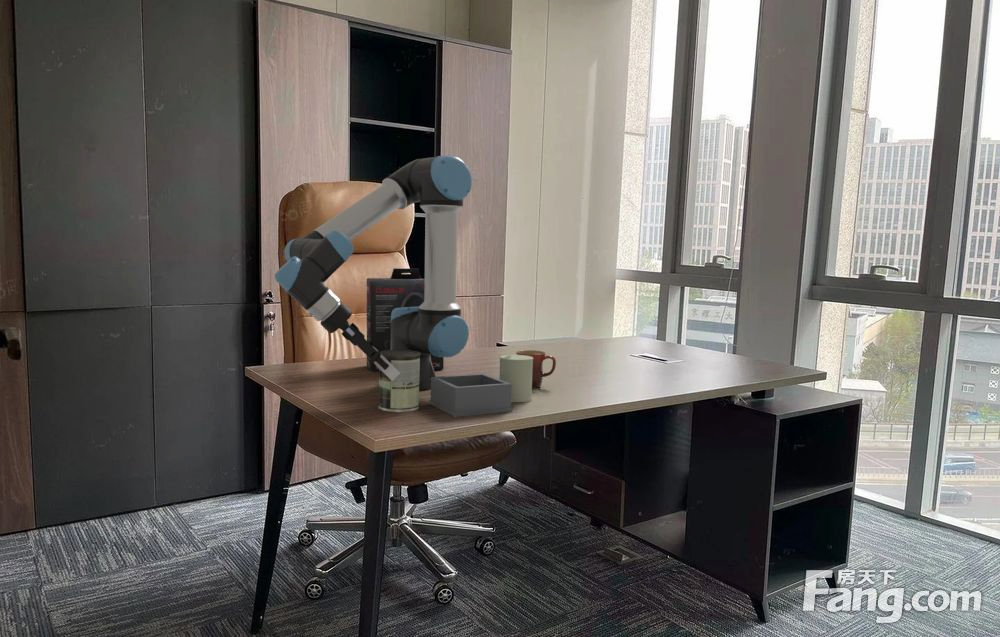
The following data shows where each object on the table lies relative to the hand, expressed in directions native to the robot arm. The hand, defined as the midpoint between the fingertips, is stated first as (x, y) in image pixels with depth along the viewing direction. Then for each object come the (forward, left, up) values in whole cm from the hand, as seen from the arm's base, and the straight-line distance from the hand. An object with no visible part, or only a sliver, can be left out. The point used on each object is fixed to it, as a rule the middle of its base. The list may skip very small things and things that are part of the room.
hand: (391, 372), depth 182 cm
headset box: (-55, +24, -9) cm, 61 cm away
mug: (-12, +49, -9) cm, 51 cm away
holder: (+6, +19, -9) cm, 22 cm away
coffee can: (0, +2, -9) cm, 10 cm away
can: (+1, +35, -9) cm, 36 cm away
